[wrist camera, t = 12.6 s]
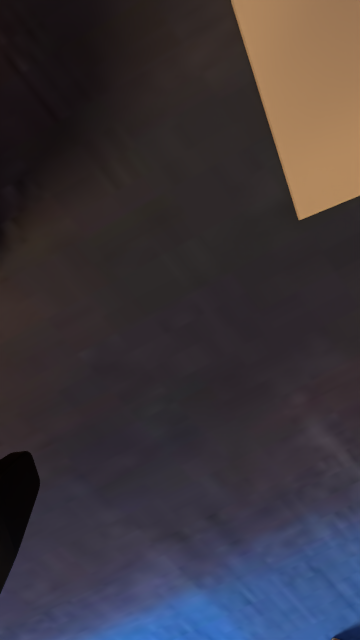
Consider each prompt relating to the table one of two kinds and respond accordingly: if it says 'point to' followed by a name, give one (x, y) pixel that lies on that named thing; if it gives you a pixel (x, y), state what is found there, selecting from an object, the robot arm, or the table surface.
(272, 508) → the table surface
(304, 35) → the carton
